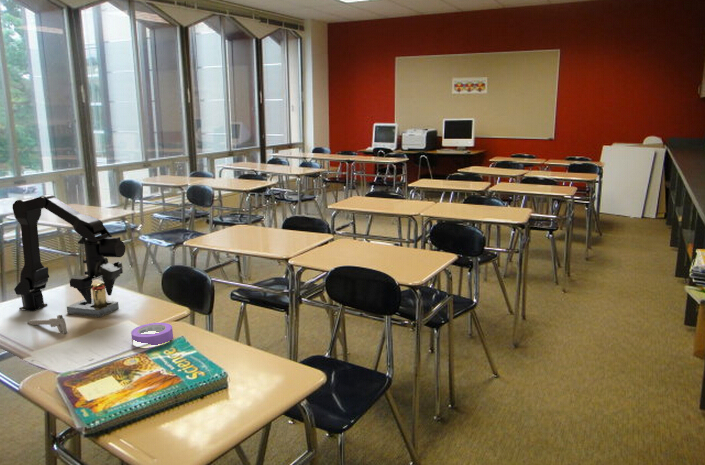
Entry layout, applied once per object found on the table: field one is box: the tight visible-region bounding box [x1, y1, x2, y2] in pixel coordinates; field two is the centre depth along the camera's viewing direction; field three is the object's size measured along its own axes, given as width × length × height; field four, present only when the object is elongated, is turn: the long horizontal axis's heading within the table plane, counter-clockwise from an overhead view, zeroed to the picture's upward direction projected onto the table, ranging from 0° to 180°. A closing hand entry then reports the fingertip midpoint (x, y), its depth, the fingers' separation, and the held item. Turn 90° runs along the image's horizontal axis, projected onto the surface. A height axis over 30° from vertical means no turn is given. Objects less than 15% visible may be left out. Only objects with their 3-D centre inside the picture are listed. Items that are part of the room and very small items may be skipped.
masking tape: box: [130, 322, 174, 345], centre depth 161 cm, size 12×12×4 cm
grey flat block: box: [66, 298, 120, 318], centre depth 187 cm, size 14×9×2 cm, turn 72°
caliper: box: [27, 314, 68, 335], centre depth 172 cm, size 20×1×6 cm, turn 60°
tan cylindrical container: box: [91, 282, 108, 308], centre depth 186 cm, size 4×4×10 cm
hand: (99, 299), depth 186 cm, fingers open, 9 cm apart
